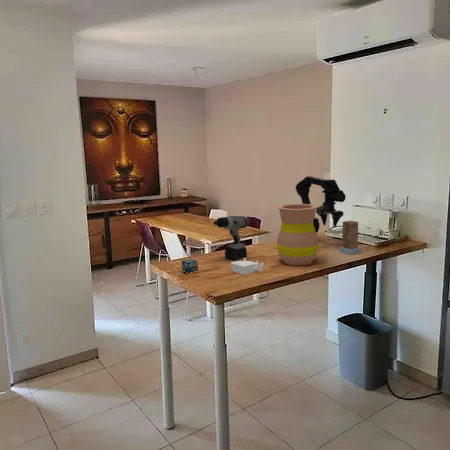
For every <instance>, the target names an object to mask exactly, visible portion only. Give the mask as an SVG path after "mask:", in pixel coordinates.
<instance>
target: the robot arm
mask: <svg viewBox="0 0 450 450" xmlns="http://www.w3.org/2000/svg"><path fill="white" fill-rule="evenodd" d="M312 185H315V186H319V187H321V188H322V189H323V190H322V191H321V192H322V193H323V194H324V202H322V205H320V206H318V207H317V208H316V210H315V214H317V215H318V216H320V218H321V223H322V224H323V226H326V223H327V220H328V219H327V218H328V214H329V215H331V218H332V227H333V228H336V227H337V225H338V223H339V221H340V219H341V218H342V217H344V211H343V210H337V209H336V208H335V205H337V203H344V202H345V200H346V194H345V193H344V191H343V189H342V190H340V187H339V185H338V183H337V180H335V178H333V179H330V178H329V179H323V178H319V177H315V176H312V175H310V176H304V178H303V179H302V180H301V181H299V182H298V183H297V184H296V185H295V191H296V193H297V195H298V196H299V197H300V199H301V202H302V203H301V204H311V205H312V203H311V200H310V196H309V195H310V192H311V191H310V188H311V186H312ZM313 224H314V228H315V231H316V234H317V233H319V230H320V228H321V227H320V226H321V224H320V221H319V218H318V217H317V218H316V217H315V216H314V220H313Z"/></svg>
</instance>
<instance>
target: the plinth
mask: <svg viewBox="0 0 450 450" xmlns="http://www.w3.org/2000/svg"><path fill="white" fill-rule="evenodd" d="M339 253H342V254H345V255H347V256H352V255H357V254H360V253H361V247H358V248H354V249H347V248H343V247H342V246H340V247H339Z"/></svg>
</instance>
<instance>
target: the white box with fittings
mask: <svg viewBox="0 0 450 450" xmlns="http://www.w3.org/2000/svg"><path fill="white" fill-rule="evenodd" d="M230 268H231V272H232V271H233V273H235V272H236V274H239V273H240V274H239V275H242V274H243V275H242V276H247V275H250V274H252V273H254V272H255V273H256V272H259V271H261V272H263V268H264V262H260V263H259V262H258V260H256V261H255V262H254V261H250V260H247V259H246V257H245V258H243V260H236V261H233V262H230Z"/></svg>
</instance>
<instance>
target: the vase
mask: <svg viewBox="0 0 450 450" xmlns="http://www.w3.org/2000/svg"><path fill="white" fill-rule="evenodd" d="M318 207H319V205H317V204H312V203H311V204H303V203H291V204H290V203H289V204H281V205H280V204H279V205H278V206H277V210H279V215H280V221H281V225H280V228H279V230H278V231H279V232H278V234H277V241H276V247H277V251H278V252H277V253H278V256H279V257H280V259H281V260H282V262H283V264H286V265H290V266H306V265H307V264H308V265H310V264H312V263H313V261H314V260H315V258H316V257H317V253H318V249H319V237H318V234H317V233H316V231H315V228H314V224H313V220H314V217H315V216H316V208H318Z"/></svg>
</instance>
